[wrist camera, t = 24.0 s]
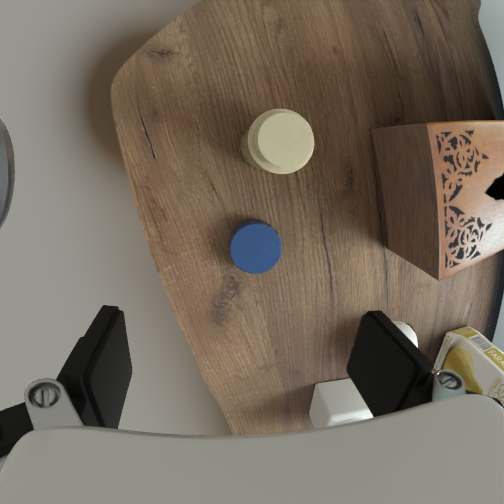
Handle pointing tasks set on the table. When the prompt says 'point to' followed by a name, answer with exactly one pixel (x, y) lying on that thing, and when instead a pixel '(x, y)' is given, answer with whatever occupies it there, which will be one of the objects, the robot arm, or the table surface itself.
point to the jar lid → (255, 246)
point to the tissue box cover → (443, 192)
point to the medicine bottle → (337, 404)
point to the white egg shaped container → (407, 331)
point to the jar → (278, 142)
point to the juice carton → (473, 361)
